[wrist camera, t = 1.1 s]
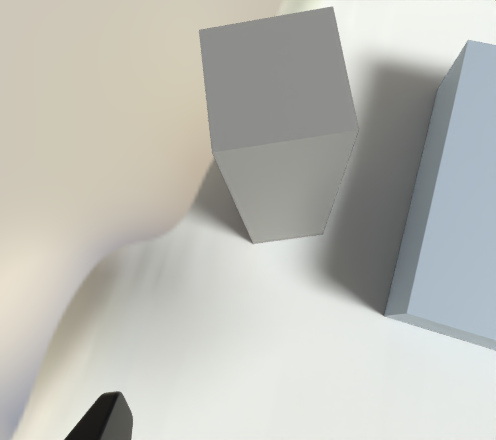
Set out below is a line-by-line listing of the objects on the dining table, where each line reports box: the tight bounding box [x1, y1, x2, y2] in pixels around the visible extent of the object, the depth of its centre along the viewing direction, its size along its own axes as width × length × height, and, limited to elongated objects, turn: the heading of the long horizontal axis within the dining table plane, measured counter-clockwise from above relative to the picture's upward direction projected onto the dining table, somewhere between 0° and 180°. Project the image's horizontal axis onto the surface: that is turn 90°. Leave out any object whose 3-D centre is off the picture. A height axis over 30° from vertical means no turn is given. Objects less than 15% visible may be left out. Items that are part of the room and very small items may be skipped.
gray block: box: [199, 7, 359, 244], centre depth 18 cm, size 4×4×13 cm
